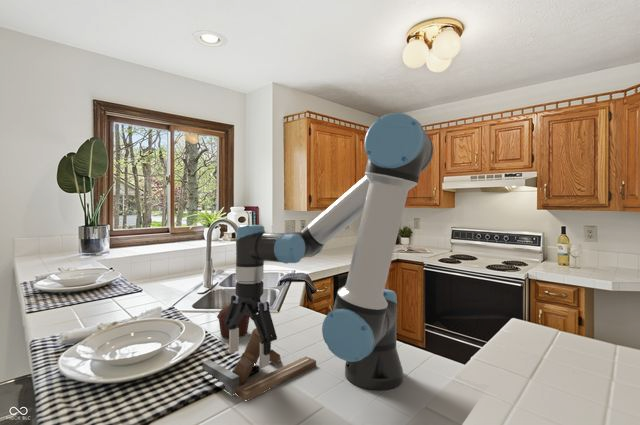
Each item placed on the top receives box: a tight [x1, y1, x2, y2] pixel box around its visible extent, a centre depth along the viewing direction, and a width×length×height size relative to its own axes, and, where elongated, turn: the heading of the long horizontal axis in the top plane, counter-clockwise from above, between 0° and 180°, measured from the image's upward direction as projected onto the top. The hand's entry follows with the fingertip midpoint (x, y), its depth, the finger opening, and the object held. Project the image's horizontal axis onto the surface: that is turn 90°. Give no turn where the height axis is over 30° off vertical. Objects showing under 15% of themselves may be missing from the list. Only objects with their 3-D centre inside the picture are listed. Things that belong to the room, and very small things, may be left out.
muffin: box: [216, 304, 251, 339], centre depth 116 cm, size 12×11×10 cm
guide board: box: [202, 356, 317, 401], centre depth 88 cm, size 17×25×4 cm
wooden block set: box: [233, 327, 281, 387], centre depth 88 cm, size 18×9×10 cm, turn 158°
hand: (248, 358), depth 90 cm, fingers open, 13 cm apart
